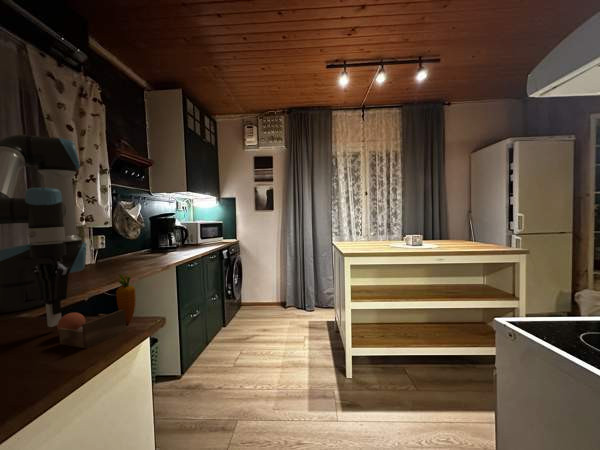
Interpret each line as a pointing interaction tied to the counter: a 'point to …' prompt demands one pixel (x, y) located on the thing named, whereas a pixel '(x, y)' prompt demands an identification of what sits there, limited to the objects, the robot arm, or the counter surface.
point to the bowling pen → (95, 330)
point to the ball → (71, 321)
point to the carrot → (126, 298)
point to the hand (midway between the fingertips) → (55, 324)
